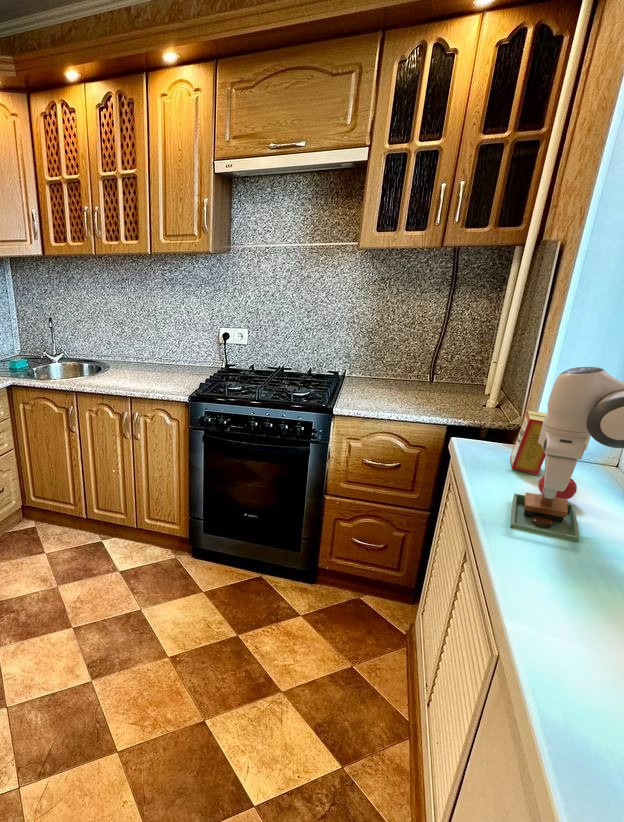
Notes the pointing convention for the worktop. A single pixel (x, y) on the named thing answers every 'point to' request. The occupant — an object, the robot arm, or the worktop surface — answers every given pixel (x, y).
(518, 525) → the tray
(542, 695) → the worktop surface
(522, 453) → the baking soda box
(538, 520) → the brown disc
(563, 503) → the brush
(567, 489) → the tomato
